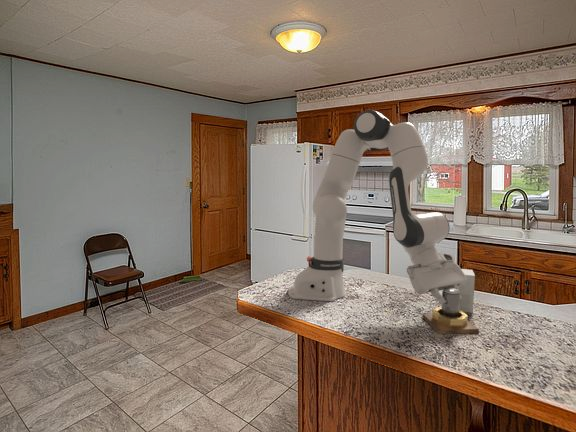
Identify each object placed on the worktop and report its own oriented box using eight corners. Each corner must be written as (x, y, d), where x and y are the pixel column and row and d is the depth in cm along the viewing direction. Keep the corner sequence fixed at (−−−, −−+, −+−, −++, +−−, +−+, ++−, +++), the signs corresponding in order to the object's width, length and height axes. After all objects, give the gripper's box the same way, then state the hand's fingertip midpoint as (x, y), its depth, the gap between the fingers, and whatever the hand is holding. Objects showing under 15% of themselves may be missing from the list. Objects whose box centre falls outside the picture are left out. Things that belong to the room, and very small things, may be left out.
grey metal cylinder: (445, 323, 109) (447, 292, 108) (438, 317, 114) (439, 287, 113) (461, 323, 109) (463, 292, 108) (453, 317, 114) (455, 287, 113)
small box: (451, 302, 131) (453, 267, 129) (470, 305, 128) (473, 269, 127) (452, 310, 123) (454, 273, 122) (473, 313, 121) (475, 275, 119)
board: (438, 333, 106) (438, 329, 105) (422, 317, 117) (422, 313, 117) (478, 333, 106) (479, 329, 106) (458, 316, 118) (459, 313, 118)
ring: (441, 327, 107) (441, 319, 107) (428, 315, 116) (428, 307, 116) (471, 327, 107) (472, 319, 107) (456, 315, 116) (457, 307, 116)
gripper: (410, 261, 111) (433, 302, 103) (455, 255, 120) (480, 292, 112) (399, 271, 116) (421, 311, 108) (444, 264, 124) (467, 301, 117)
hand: (451, 301), depth 110 cm, fingers closed on grey metal cylinder, 5 cm apart
